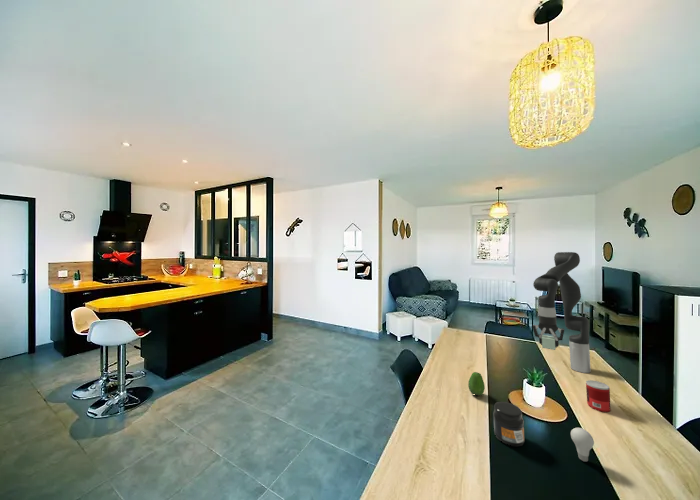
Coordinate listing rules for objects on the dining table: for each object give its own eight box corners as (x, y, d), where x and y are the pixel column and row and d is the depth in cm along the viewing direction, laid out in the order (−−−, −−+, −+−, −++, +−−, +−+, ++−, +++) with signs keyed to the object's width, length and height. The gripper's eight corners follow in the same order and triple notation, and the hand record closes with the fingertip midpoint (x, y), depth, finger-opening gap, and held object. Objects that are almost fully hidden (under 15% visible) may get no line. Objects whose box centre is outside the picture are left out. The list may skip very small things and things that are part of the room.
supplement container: (525, 452, 93) (524, 419, 94) (493, 441, 99) (492, 411, 99) (524, 434, 102) (522, 405, 102) (494, 426, 108) (493, 398, 108)
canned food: (615, 413, 113) (614, 389, 113) (595, 411, 115) (593, 387, 115) (602, 403, 121) (600, 380, 121) (583, 402, 122) (581, 379, 123)
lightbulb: (567, 454, 91) (565, 424, 92) (582, 453, 92) (580, 422, 92) (584, 468, 85) (582, 436, 86) (600, 467, 86) (598, 434, 86)
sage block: (543, 344, 139) (542, 335, 140) (555, 347, 136) (555, 336, 136) (542, 347, 135) (541, 337, 136) (555, 350, 132) (554, 339, 132)
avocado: (487, 399, 127) (486, 376, 127) (470, 398, 129) (469, 375, 129) (482, 391, 135) (481, 368, 135) (466, 390, 136) (465, 368, 137)
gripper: (564, 315, 134) (566, 346, 134) (531, 312, 144) (533, 341, 143) (564, 318, 128) (566, 351, 128) (530, 314, 138) (531, 345, 138)
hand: (548, 345), depth 136 cm, fingers closed on sage block, 5 cm apart
